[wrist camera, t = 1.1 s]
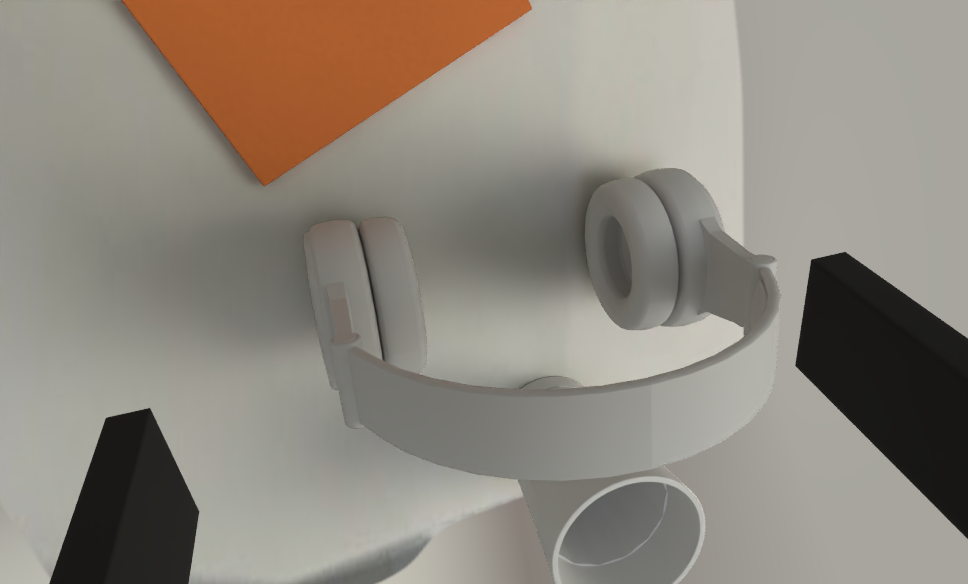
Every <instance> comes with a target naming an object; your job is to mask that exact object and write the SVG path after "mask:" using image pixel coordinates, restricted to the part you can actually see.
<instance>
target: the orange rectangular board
mask: <svg viewBox="0 0 968 584" xmlns="http://www.w3.org/2000/svg"><path fill="white" fill-rule="evenodd" d="M122 2H123V3H124V4H125V6H126V7H127V8H128V9H129V11H130V12H131V13H132V15H133V16H134V17H135V19H136V20H137V21H138V23H139V24H140V25H141V26H142V28H143V29H144V30H145V32H146V33H147V34H148V36H149V37H150V38H151V40H152V41H153V42H154V43H155V45H156V46H157V47H158V49H159V50H160V51H161V53H162V54H163V55H164V56H165V58H166V59H167V60H168V62H169V63H170V64H171V66H172V67H173V68H174V70H175V71H176V72H177V73H178V75H179V76H180V77H181V79H182V80H183V81H184V83H185V84H186V85H187V87H188V88H189V89H190V90H191V92H192V93H193V94H194V96H195V97H196V98H197V100H198V101H199V102H200V103H201V105H202V106H203V107H204V109H205V110H206V111H207V113H208V114H209V115H210V117H211V118H212V119H213V120H214V122H215V123H216V124H217V126H218V127H219V128H220V130H221V131H222V132H223V134H224V135H225V136H226V137H227V139H228V140H229V141H230V143H231V144H232V145H233V147H234V148H235V149H236V150H237V152H238V153H239V154H240V156H241V157H242V158H243V160H244V161H245V162H246V164H247V165H248V166H249V167H250V169H251V170H252V171H253V173H254V174H255V175H256V177H257V178H258V179H259V181H260V182H261V183H262V184H263V186H266V185H267V184H269V183H270V182H272V181H273V180H275V179H276V178H278V177H279V176H281V175H282V174H284V173H285V172H287V171H288V170H290V169H291V168H293V167H294V166H296V165H298V164H299V163H301V162H302V161H304V160H305V159H307V158H308V157H310V156H311V155H313V154H314V153H316V152H317V151H319V150H320V149H322V148H323V147H325V146H326V145H328V144H329V143H331V142H332V141H334V140H335V139H337V138H338V137H340V136H341V135H343V134H344V133H346V132H347V131H349V130H350V129H352V128H353V127H355V126H356V125H358V124H359V123H361V122H362V121H364V120H365V119H367V118H368V117H370V116H371V115H373V114H374V113H376V112H377V111H379V110H380V109H382V108H383V107H385V106H386V105H388V104H389V103H391V102H393V101H394V100H396V99H397V98H399V97H400V96H402V95H403V94H405V93H406V92H408V91H409V90H411V89H412V88H414V87H415V86H417V85H418V84H420V83H421V82H423V81H424V80H426V79H427V78H429V77H430V76H432V75H433V74H435V73H436V72H438V71H439V70H441V69H442V68H444V67H445V66H447V65H448V64H450V63H451V62H453V61H454V60H456V59H457V58H459V57H460V56H462V55H463V54H465V53H466V52H468V51H469V50H471V49H472V48H474V47H475V46H477V45H478V44H480V43H481V42H483V41H485V40H486V39H488V38H489V37H491V36H492V35H494V34H495V33H497V32H498V31H500V30H501V29H503V28H504V27H506V26H507V25H509V24H510V23H512V22H513V21H515V20H516V19H518V18H519V17H521V16H522V15H524V14H525V13H527V12H528V11H530V10H531V9H532V7H531V5H530V3H529V1H528V0H122Z"/></svg>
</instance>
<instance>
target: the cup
mask: <svg viewBox="0 0 968 584" xmlns="http://www.w3.org/2000/svg"><path fill="white" fill-rule="evenodd" d="M581 387H583V386H582V385H581V384H579V383H578V382H576V381H574V380H572V379H569V378H565V377H557V376H553V377H545V378H541V379H538V380H535V381H533V382H531V383H529V384H527V385H525V386H524V387H522V388H521V389H568V388H581ZM518 481H519V484H520V487H521V489H522V492H523V495H524V497H525V500H526V503H527V505H528V508H529V511H530V513H531V516H532V518H533V521H534V524H535V526H536V529H537V533H538V537H539V539H540V542H541V545H542V548H543V551H544V554H545V557H546V559H547V562H548V565H549V568H550V571H551V573H552V576H553V579H554V582H555V584H678V583H679V582H680V581H681V580H682V579H683V577H685V575H686V574H687V573H688V571H689V570H690V569H691V567H692V566H693V564H694V563H695V561H696V559H697V557H698V555H699V553H700V550H701V548H702V544H703V540H704V536H705V516H704V512H703V509H702V506H701V504H700V502H699V500H698V498H697V497H696V496H695V494H694V493H693V492H692V491H691V490H690V489H689V488H688V487H687V486H686V485H684V484H683V483H682V482H681V481H680V480H679V479H678V478H677V477H676V476H675V475H673V474H672V473H671V472H670V471H669V470H668V469H667V468H666V467H665V466H664V465H663V466H660V467H657V468H654V469H650V470H645V471H639V472H634V473H629V474H623V475H618V476H613V477H606V478H593V479H581V480H568V481H550V480H518Z"/></svg>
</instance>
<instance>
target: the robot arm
mask: <svg viewBox="0 0 968 584" xmlns="http://www.w3.org/2000/svg"><path fill="white" fill-rule="evenodd" d="M795 366H796V367H797V368H798V369H799V370H800V371H801V372H802V373H803V374H804V375H805V376H806V377H807V378H808V379H809V380H810V381H811V382H812V383H813V384H814V385H815V386H816V387H817V388H818V389H819V390H820V391H821V392H822V393H823V394H824V395H825V396H826V397H827V398H828V399H829V400H830V401H831V402H832V403H833V404H834V405H835V406H836V407H837V408H838V409H839V410H840V411H841V412H842V413H843V414H844V415H845V416H846V417H847V418H848V419H849V420H850V421H851V422H852V423H853V424H854V425H855V426H856V427H857V428H858V429H859V430H860V431H861V432H862V433H863V434H864V435H865V436H866V437H867V438H868V439H869V440H870V441H871V442H872V443H873V444H874V445H875V446H876V447H877V448H878V449H879V450H880V451H881V452H882V453H883V454H884V455H885V456H886V457H887V458H888V459H889V460H890V461H891V462H892V463H893V464H894V465H895V466H896V467H897V468H898V469H899V470H900V471H901V472H902V473H903V474H904V475H905V476H906V477H907V478H908V479H909V480H910V481H911V482H912V483H913V484H914V485H915V486H916V487H917V488H918V489H919V490H920V491H921V492H922V493H923V494H924V495H925V496H926V497H927V498H928V499H929V500H930V501H931V502H932V503H933V504H934V505H935V506H936V507H937V508H938V509H939V510H940V512H941V513H942V514H943V515H944V516H946V518H947V519H948V520H949V521H950V522H951V523H952V524H953V525H954V526H956V528H957V529H958V530H959V531H960V532H962V533H963V534H964V536H965V537H966V538H967V539H968V338H966V337H965V336H963V335H962V334H961V333H959V332H958V331H956V330H955V329H953V328H952V327H950V326H949V325H948V324H946V323H945V322H944V321H942V320H941V319H939V318H938V317H936V316H935V315H934V314H932V313H931V312H929V311H928V310H927V309H925V308H924V307H922V306H921V305H919V304H918V303H917V302H915V301H914V300H912V299H911V298H910V297H908V296H907V295H905V294H904V293H903V292H901V291H900V290H898V289H897V288H895V287H894V286H893V285H891V284H890V283H888V282H887V281H886V280H884V279H883V278H881V277H880V276H878V275H877V274H876V273H874V272H873V271H871V270H870V269H868V268H867V267H866V266H864V265H863V264H861V263H860V262H859V261H857V260H856V259H854V258H853V257H851V256H850V255H849V254H847V253H846V252H843V253H839V254H835V255H830V256H825V257H821V258H817V259H812V260H811V265H810V272H809V279H808V285H807V293H806V299H805V305H804V312H803V319H802V325H801V332H800V339H799V345H798V352H797V358H796V365H795ZM198 516H199V510H198V508H197V506H196V504H195V502H194V500H193V498H192V496H191V493H190V491H189V489H188V487H187V485H186V483H185V481H184V479H183V477H182V475H181V472H180V470H179V468H178V466H177V464H176V462H175V460H174V458H173V456H172V453H171V451H170V449H169V447H168V445H167V443H166V441H165V439H164V437H163V434H162V432H161V430H160V428H159V426H158V424H157V422H156V420H155V418H154V416H153V413H152V411H151V409H150V408H148V409H144V410H139V411H135V412H130V413H126V414H121V415H117V416H112V417H108V418H106V419H105V422H104V425H103V428H102V431H101V434H100V437H99V440H98V443H97V446H96V449H95V452H94V455H93V458H92V460H91V463H90V466H89V469H88V472H87V475H86V478H85V481H84V484H83V487H82V490H81V493H80V496H79V499H78V501H77V504H76V507H75V510H74V513H73V516H72V519H71V522H70V525H69V528H68V531H67V534H66V537H65V540H64V542H63V545H62V548H61V551H60V554H59V557H58V560H57V563H56V566H55V569H54V572H53V575H52V578H51V581H50V583H49V584H188V583H189V576H190V569H191V563H192V556H193V549H194V542H195V536H196V529H197V522H198Z"/></svg>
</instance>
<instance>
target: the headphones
mask: <svg viewBox="0 0 968 584" xmlns="http://www.w3.org/2000/svg"><path fill="white" fill-rule="evenodd" d="M303 240H304V250H305V259H306V268H307V275H308V281H309V288H310V294H311V299H312V305H313V311H314V316H315V321H316V326H317V331H318V336H319V341H320V346H321V350H322V354H323V359H324V363H325V367H326V370H327V374H328V378H329V381H330V385H331V387H332V388H333V389H335V390H339V394H340V399H341V405H342V410H343V415H344V420H345V424H346V425H347V426H348V427H350V428H363V427H366V428H368V429H369V430H371V431H372V432H373V433H375V434H376V435H378V436H379V437H381V438H382V439H384V440H386V441H387V442H389V443H391V444H393V445H394V446H396V447H398V448H399V449H401V450H403V451H405V452H407V453H409V454H412V455H415V456H417V457H420V458H422V459H425V460H427V461H430V462H432V463H435V464H438V465H442V466H446V467H450V468H454V469H458V470H462V471H466V472H470V473H474V474H479V475H487V476H494V477H502V478H509V479H517V480H550V481H568V480H581V479H593V478H606V477H613V476H618V475H623V474H629V473H634V472H639V471H645V470H650V469H654V468H657V467H660V466H663V465H666V464H669V463H673V462H676V461H679V460H682V459H685V458H689V457H691V456H693V455H695V454H697V453H700V452H701V451H704V450H706V449H708V448H710V447H712V446H714V445H716V444H718V443H720V442H723V441H724V440H725V439H727V438H728V437H730V436H731V435H732V434H734V433H735V432H737V431H738V430H739V429H741V428H742V427H744V426H745V425H747V424H748V422H749V421H750V420H751V419H752V418H753V417H754V416H755V415H756V414H757V413H758V411H759V410H760V409H761V408H762V407H763V406H764V405H765V403H766V401H767V398H768V397H769V395H770V392H771V390H772V388H773V386H774V379H775V371H776V362H777V349H778V334H779V318H780V302H781V295H780V291H779V288H778V284H777V281H776V268H777V260H776V259H775V258H774V257H772V256H768V255H754V254H752V253H750V252H749V251H747V250H746V249H745V248H744V247H742V246H741V245H740V244H739V243H737V242H736V241H735V240H734V239H732V238H731V237H730V236H728V235H727V234H726V233H725V230H724V227H723V223H722V219H721V217H720V214H719V211H718V209H717V206H716V204H715V202H714V200H713V198H712V197H711V195H710V194H709V192H708V191H707V189H706V188H705V187H704V186H703V185H702V184H701V183H700V182H699V181H698V180H697V179H696V178H694V177H693V176H692V175H691V174H690V173H688V172H686V171H684V170H681V169H676V168H665V169H655V170H651V171H647V172H644V173H642V174H640V175H638V176H635V177H634V178H624V179H617V180H613V181H610V182H607V183H605V184H603V185H601V186H600V187H599V188H598V189H597V190H596V191H595V192H594V194H593V196H592V197H591V200H590V202H589V205H588V209H587V214H586V221H585V248H586V256H587V262H588V268H589V272H590V276H591V280H592V283H593V286H594V289H595V292H596V294H597V297H598V299H599V301H600V303H601V305H602V307H603V308H604V310H605V312H606V313H607V315H608V316H609V317H610V318H611V319H612V321H613V322H614V323H615V324H617V325H618V326H620V327H621V328H623V329H626V330H646V329H651V328H654V327H657V326H659V325H660V326H666V327H677V326H685V325H688V324H691V323H694V322H697V321H700V320H702V319H704V318H706V317H707V316H709V315H710V314H714V315H716V316H719V317H721V318H724V319H726V320H729V321H732V322H734V323H736V324H738V325H739V326H741V327H744V337H743V338H742V339H741V340H739V341H738V342H736V343H735V344H733V345H731V346H730V347H728V348H726V349H724V350H723V351H721V352H719V353H718V354H716V355H714V356H711V357H709V358H707V359H704V360H702V361H699V362H697V363H694V364H692V365H689V366H687V367H684V368H681V369H678V370H674V371H670V372H667V373H663V374H659V375H656V376H652V377H648V378H645V379H639V380H633V381H627V382H621V383H615V384H609V385H604V386H593V387H581V388H568V389H504V388H493V387H482V386H471V385H465V384H460V383H455V382H449V381H444V380H438V379H433V378H430V377H426V376H423V375H420V373H421V372H422V371H423V370H424V368H425V365H426V360H427V341H426V330H425V321H424V314H423V308H422V302H421V296H420V290H419V285H418V280H417V275H416V271H415V266H414V262H413V258H412V255H411V251H410V247H409V244H408V241H407V238H406V235H405V233H404V231H403V229H402V227H401V225H400V224H399V223H398V221H397V220H395V219H394V218H387V217H379V218H371V219H367V220H364V221H362V222H361V223H360V225H359V229H358V231H357V228H356V226H355V225H354V223H353V222H352V221H349V220H331V221H326V222H322V223H319V224H315V225H312V226H311V227H310V229H309V231H308V232H306V233H305V234H304V236H303Z"/></svg>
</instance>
